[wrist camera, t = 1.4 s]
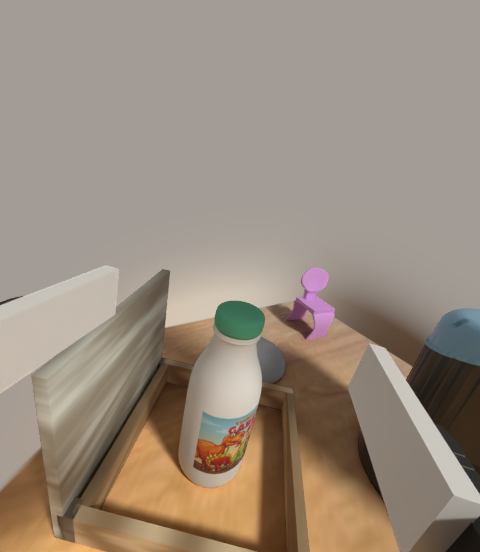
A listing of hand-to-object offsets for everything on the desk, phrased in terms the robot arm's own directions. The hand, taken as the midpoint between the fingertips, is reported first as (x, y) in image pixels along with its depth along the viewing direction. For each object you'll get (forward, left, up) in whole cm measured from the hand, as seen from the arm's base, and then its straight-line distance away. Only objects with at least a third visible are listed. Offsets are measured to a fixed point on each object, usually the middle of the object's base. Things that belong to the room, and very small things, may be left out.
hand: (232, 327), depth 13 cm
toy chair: (-16, -45, -24) cm, 53 cm away
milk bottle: (0, -10, -24) cm, 26 cm away
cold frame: (0, -10, -24) cm, 26 cm away
